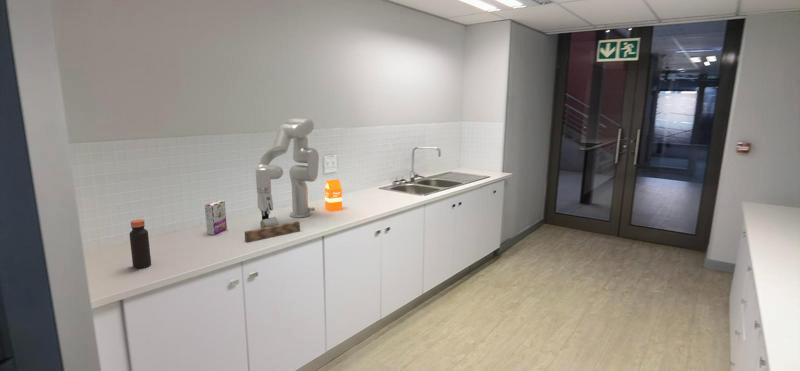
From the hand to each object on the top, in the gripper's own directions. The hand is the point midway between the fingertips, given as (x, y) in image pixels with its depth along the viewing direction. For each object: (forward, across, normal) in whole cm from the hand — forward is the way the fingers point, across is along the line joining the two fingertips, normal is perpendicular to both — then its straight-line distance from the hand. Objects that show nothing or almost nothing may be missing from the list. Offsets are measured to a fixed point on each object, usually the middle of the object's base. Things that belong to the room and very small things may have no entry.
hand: (265, 222), depth 239 cm
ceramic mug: (+4, -7, 0) cm, 8 cm away
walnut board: (+4, -13, +2) cm, 14 cm away
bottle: (+4, -17, +64) cm, 66 cm away
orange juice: (+4, +14, -54) cm, 56 cm away
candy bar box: (+4, +13, +22) cm, 26 cm away
